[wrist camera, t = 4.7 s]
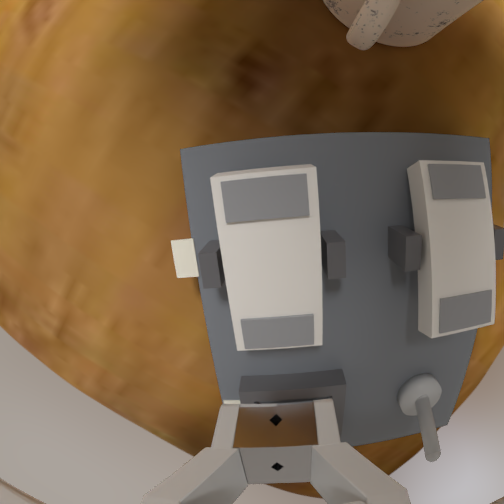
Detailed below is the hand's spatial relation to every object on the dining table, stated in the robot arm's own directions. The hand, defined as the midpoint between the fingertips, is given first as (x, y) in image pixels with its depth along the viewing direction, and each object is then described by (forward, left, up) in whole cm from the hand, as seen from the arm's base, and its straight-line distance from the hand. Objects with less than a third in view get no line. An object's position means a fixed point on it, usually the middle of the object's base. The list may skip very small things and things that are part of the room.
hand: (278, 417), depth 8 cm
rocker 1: (-2, 0, -7) cm, 7 cm away
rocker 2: (-2, +9, -7) cm, 11 cm away
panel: (+3, +4, -12) cm, 13 cm away
